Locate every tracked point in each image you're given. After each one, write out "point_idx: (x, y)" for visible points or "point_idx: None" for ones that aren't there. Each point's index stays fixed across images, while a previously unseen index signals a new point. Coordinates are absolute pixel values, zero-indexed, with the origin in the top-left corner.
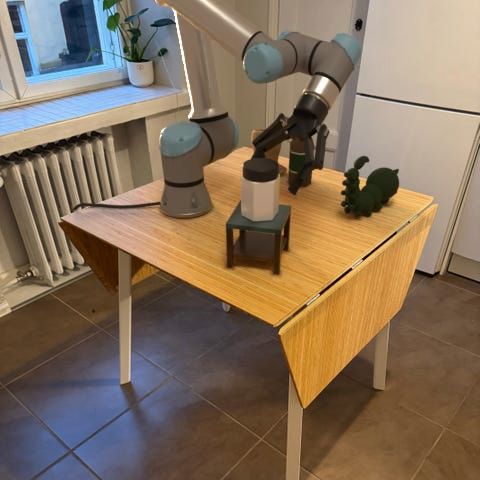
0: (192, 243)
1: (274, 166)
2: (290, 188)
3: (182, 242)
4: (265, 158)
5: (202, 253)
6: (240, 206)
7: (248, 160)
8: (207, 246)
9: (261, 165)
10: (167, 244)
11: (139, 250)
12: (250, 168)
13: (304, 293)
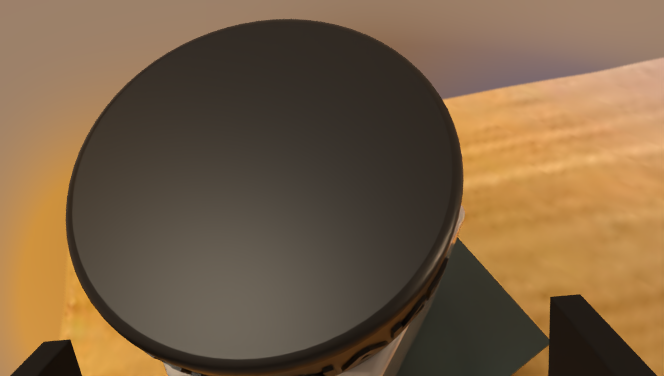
0: (586, 222)
1: (101, 226)
2: (40, 351)
3: (613, 199)
4: (354, 316)
5: (497, 210)
6: (471, 284)
7: (436, 130)
8: (535, 251)
9: (227, 144)
10: (624, 154)
11: (627, 77)
12: (253, 37)
13: (86, 314)
